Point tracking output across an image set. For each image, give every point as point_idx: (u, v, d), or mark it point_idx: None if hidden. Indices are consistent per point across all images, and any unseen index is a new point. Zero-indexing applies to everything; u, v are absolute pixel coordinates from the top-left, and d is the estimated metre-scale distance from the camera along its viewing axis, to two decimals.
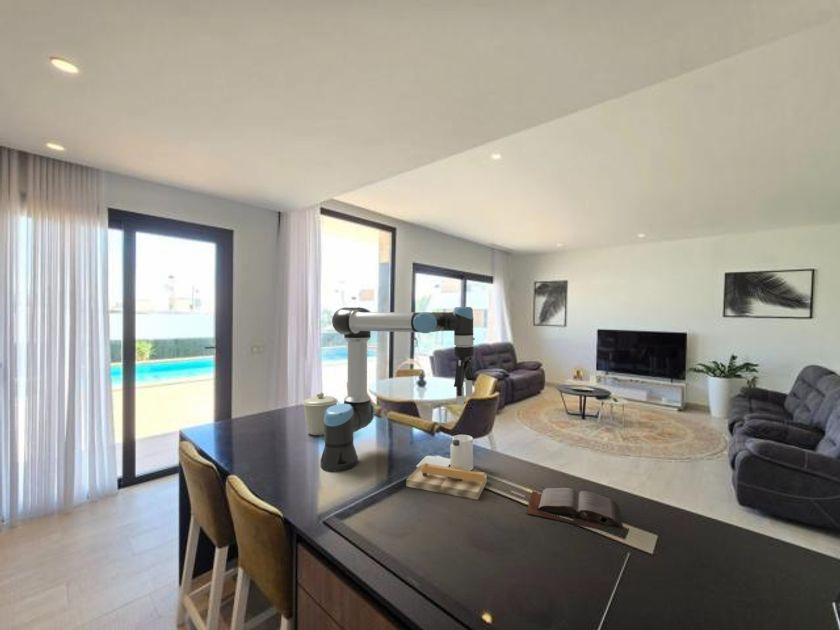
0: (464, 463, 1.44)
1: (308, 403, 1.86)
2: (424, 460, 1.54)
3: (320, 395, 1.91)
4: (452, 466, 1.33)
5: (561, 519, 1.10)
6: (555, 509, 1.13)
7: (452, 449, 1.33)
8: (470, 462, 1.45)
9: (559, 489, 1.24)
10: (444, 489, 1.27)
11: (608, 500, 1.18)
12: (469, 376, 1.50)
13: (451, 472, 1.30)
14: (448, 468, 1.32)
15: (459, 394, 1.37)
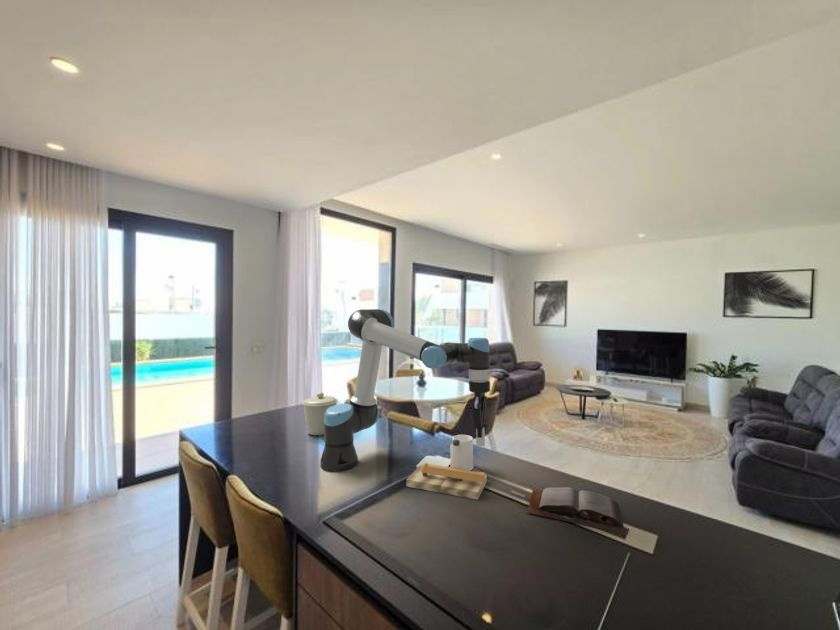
0: (464, 463, 1.44)
1: (308, 403, 1.86)
2: (424, 460, 1.54)
3: (320, 395, 1.91)
4: (452, 466, 1.33)
5: (562, 518, 1.10)
6: (556, 509, 1.14)
7: (452, 449, 1.33)
8: (470, 462, 1.45)
9: (559, 488, 1.25)
10: (444, 489, 1.27)
11: (608, 499, 1.18)
12: None
13: (451, 472, 1.30)
14: (448, 468, 1.32)
15: (479, 436, 1.32)
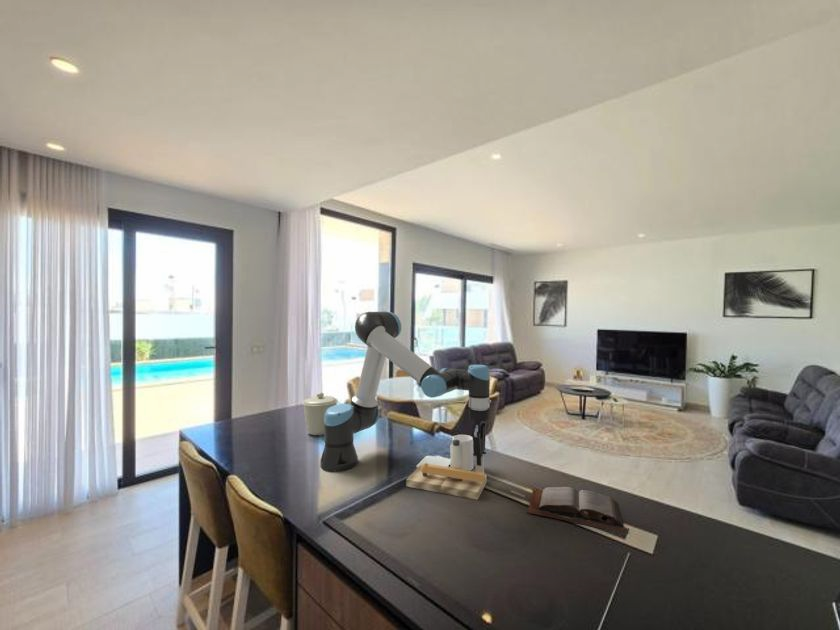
0: (464, 463, 1.44)
1: (308, 403, 1.86)
2: (424, 460, 1.54)
3: (320, 395, 1.91)
4: (452, 466, 1.33)
5: (562, 518, 1.10)
6: (556, 508, 1.14)
7: (452, 449, 1.33)
8: (470, 462, 1.45)
9: (559, 488, 1.25)
10: (444, 489, 1.27)
11: (608, 499, 1.18)
12: None
13: (451, 472, 1.30)
14: (448, 468, 1.32)
15: (479, 464, 1.32)
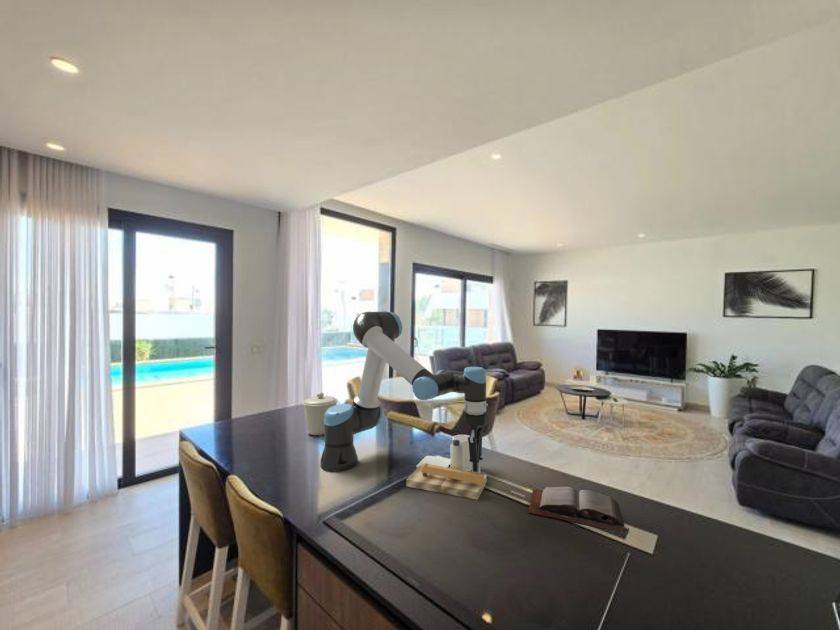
0: (464, 463, 1.44)
1: (308, 403, 1.86)
2: (424, 460, 1.54)
3: (320, 395, 1.91)
4: (452, 466, 1.33)
5: (563, 518, 1.10)
6: (556, 508, 1.14)
7: (452, 449, 1.33)
8: (470, 462, 1.45)
9: (559, 488, 1.25)
10: (444, 489, 1.27)
11: (608, 498, 1.19)
12: None
13: (450, 472, 1.30)
14: (448, 468, 1.31)
15: (475, 470, 1.27)
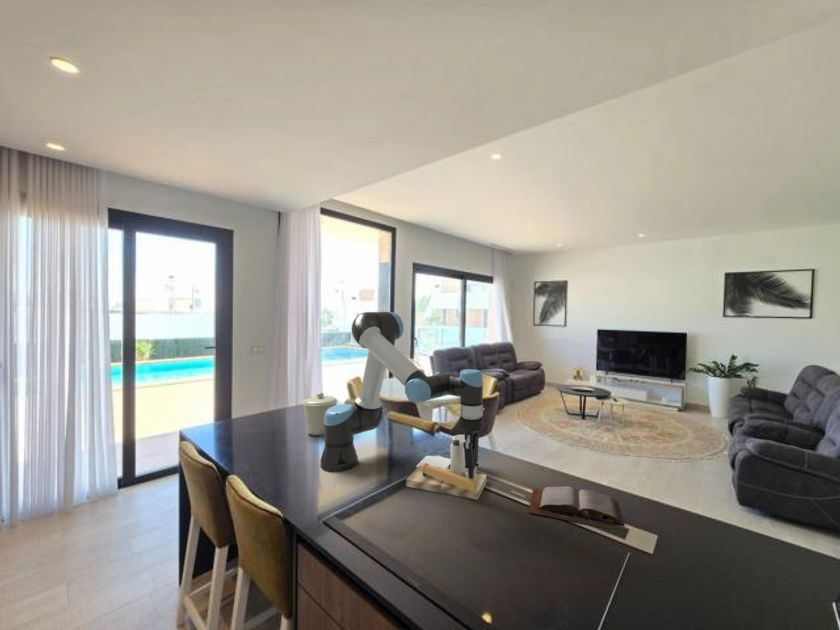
0: (464, 463, 1.44)
1: (308, 403, 1.86)
2: (424, 460, 1.54)
3: (320, 395, 1.91)
4: (452, 466, 1.33)
5: (563, 518, 1.10)
6: (557, 508, 1.14)
7: (452, 449, 1.33)
8: None
9: (559, 488, 1.25)
10: (444, 489, 1.27)
11: (608, 498, 1.19)
12: None
13: (445, 475, 1.27)
14: (444, 471, 1.29)
15: (471, 476, 1.22)
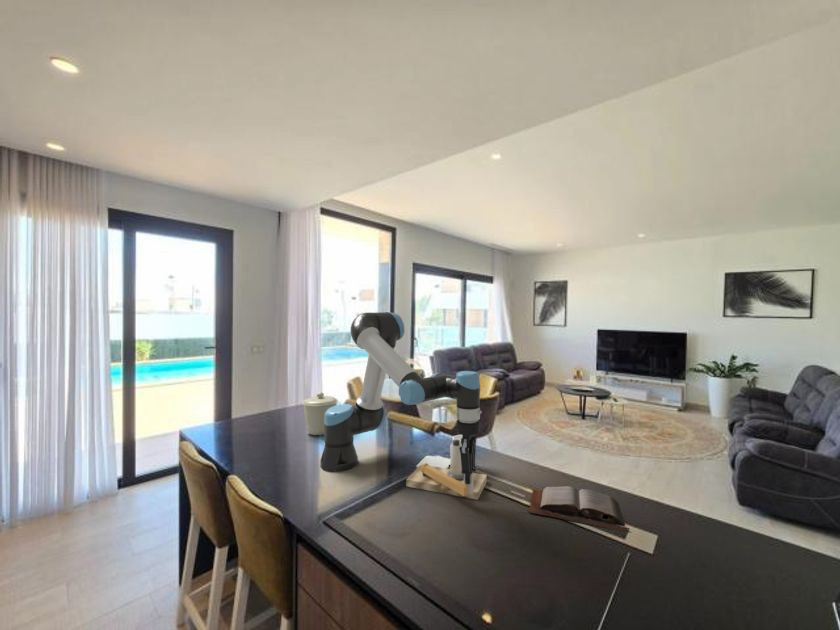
0: None
1: (308, 403, 1.86)
2: (424, 460, 1.54)
3: (320, 395, 1.91)
4: (452, 466, 1.33)
5: (563, 517, 1.11)
6: (557, 508, 1.14)
7: (452, 449, 1.33)
8: None
9: (559, 488, 1.25)
10: (444, 489, 1.27)
11: (608, 498, 1.19)
12: None
13: (440, 477, 1.26)
14: (440, 473, 1.28)
15: (467, 482, 1.18)
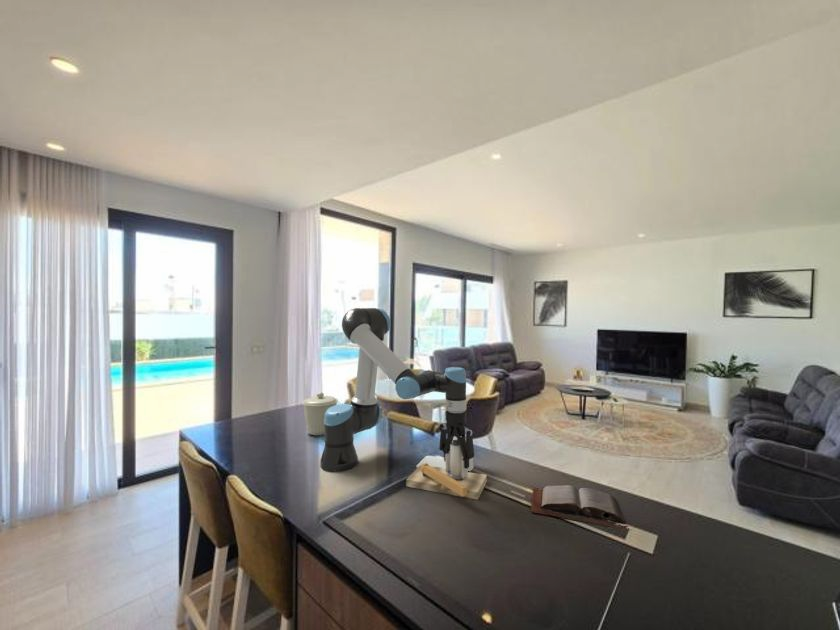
0: None
1: (308, 403, 1.86)
2: (424, 460, 1.54)
3: (320, 395, 1.91)
4: (452, 466, 1.33)
5: (565, 516, 1.11)
6: (558, 507, 1.15)
7: (452, 449, 1.33)
8: (470, 462, 1.45)
9: (559, 487, 1.26)
10: (444, 489, 1.27)
11: (608, 496, 1.20)
12: None
13: (440, 477, 1.26)
14: (440, 473, 1.28)
15: None
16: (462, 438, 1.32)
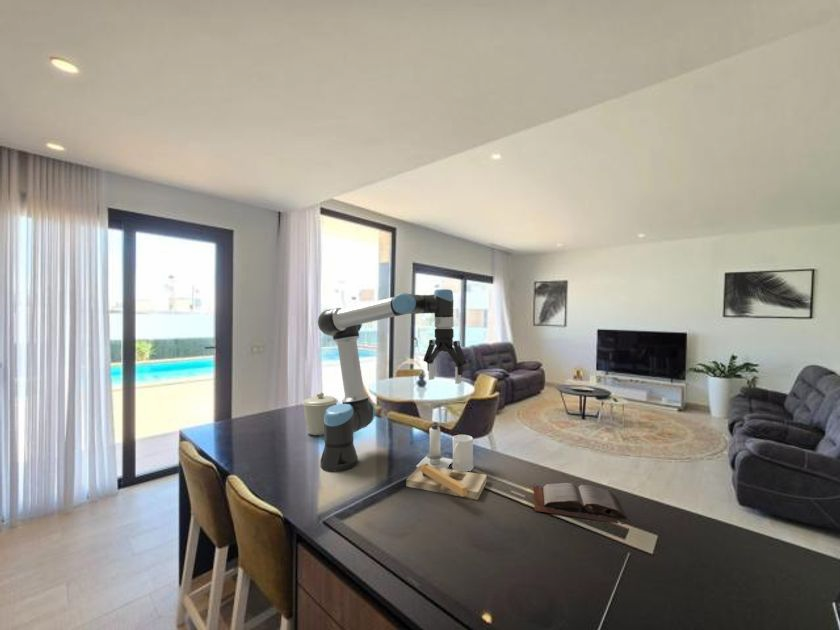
0: (464, 463, 1.44)
1: (308, 403, 1.86)
2: (424, 460, 1.54)
3: (320, 395, 1.91)
4: (431, 447, 1.50)
5: (569, 514, 1.12)
6: (561, 505, 1.16)
7: (431, 432, 1.50)
8: (470, 462, 1.45)
9: (560, 484, 1.28)
10: (444, 489, 1.27)
11: (607, 492, 1.23)
12: None
13: (440, 477, 1.26)
14: (440, 473, 1.28)
15: None
16: (452, 350, 1.45)
